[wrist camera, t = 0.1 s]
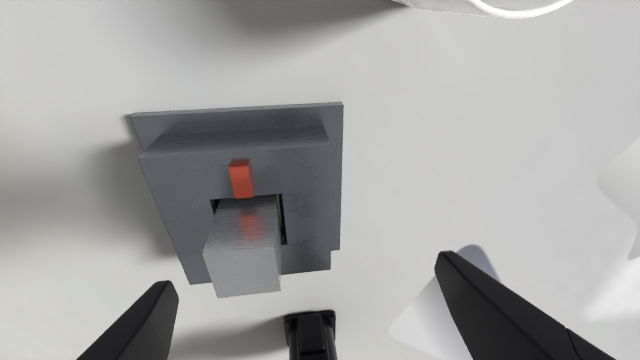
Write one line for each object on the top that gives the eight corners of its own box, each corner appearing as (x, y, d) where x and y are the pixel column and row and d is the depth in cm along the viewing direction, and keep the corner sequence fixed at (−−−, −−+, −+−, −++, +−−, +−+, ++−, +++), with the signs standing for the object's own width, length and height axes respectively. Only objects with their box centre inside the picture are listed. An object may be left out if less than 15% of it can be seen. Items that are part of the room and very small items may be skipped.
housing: (338, 244, 29) (347, 284, 25) (191, 259, 27) (174, 304, 23) (341, 102, 21) (356, 124, 17) (134, 112, 20) (94, 140, 15)
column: (282, 214, 25) (282, 291, 18) (234, 218, 24) (216, 299, 17) (277, 174, 22) (275, 245, 16) (225, 178, 22) (199, 252, 15)
